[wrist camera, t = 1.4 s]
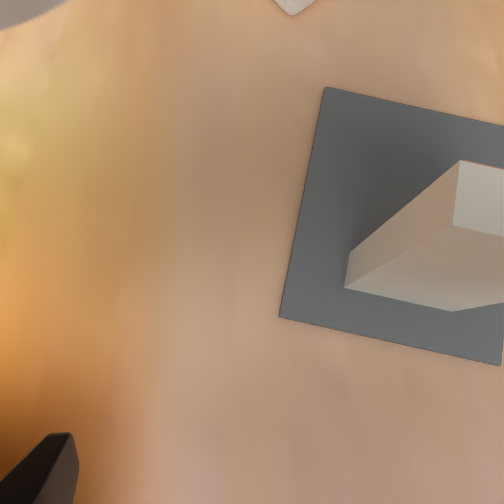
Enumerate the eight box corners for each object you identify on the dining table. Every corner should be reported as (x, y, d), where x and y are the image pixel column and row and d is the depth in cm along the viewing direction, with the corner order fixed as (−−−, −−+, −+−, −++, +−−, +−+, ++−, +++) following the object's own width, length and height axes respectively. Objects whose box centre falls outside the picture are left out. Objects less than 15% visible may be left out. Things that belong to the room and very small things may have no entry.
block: (452, 311, 24) (663, 272, 12) (343, 287, 24) (452, 225, 12) (456, 273, 25) (663, 201, 13) (350, 249, 25) (460, 155, 13)
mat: (496, 365, 24) (501, 365, 24) (278, 316, 24) (279, 316, 24) (516, 133, 27) (520, 130, 27) (324, 90, 27) (325, 86, 27)
